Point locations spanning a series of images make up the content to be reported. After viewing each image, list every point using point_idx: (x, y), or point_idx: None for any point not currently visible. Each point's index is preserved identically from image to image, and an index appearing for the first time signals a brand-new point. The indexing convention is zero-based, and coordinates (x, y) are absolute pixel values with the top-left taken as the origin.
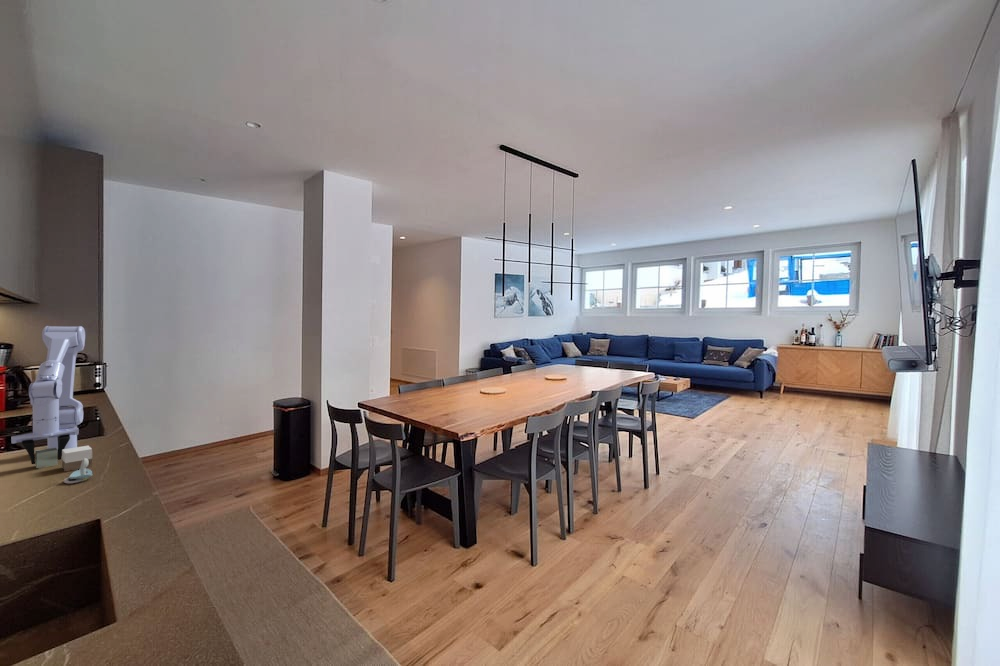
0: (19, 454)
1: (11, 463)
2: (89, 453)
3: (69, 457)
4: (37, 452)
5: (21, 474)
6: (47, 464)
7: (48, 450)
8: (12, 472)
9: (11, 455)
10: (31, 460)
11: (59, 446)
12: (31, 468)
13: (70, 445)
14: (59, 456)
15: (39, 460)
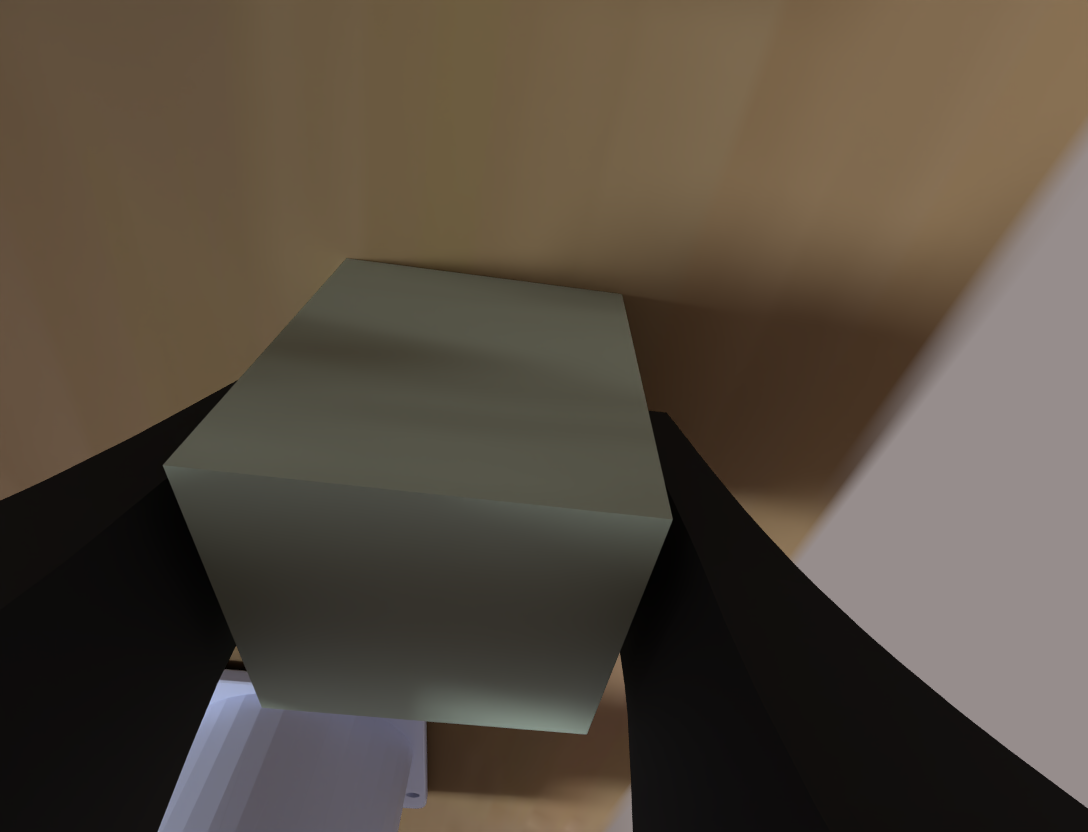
0: (554, 819)
1: None
2: None
3: None
4: (622, 583)
5: (918, 101)
6: (476, 303)
7: (387, 590)
8: (869, 388)
9: (592, 824)
10: (697, 458)
11: (34, 585)
12: (648, 404)
13: (200, 776)
14: None
15: (594, 373)
